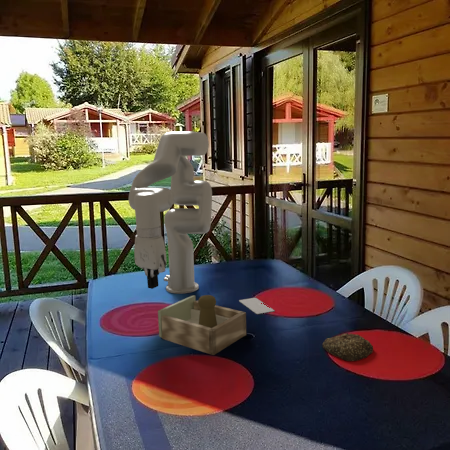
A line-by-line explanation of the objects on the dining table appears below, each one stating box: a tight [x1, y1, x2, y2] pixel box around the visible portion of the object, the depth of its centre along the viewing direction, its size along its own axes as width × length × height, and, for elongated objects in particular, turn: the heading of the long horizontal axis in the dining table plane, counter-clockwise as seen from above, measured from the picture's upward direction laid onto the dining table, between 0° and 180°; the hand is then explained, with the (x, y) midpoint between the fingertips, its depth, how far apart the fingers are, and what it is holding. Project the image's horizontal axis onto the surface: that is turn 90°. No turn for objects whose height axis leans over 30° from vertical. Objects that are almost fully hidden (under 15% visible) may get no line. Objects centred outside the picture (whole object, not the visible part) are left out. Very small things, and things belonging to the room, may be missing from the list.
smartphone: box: [238, 297, 276, 315], centre depth 165 cm, size 7×1×15 cm
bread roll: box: [322, 332, 374, 362], centre depth 130 cm, size 13×12×5 cm
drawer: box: [157, 295, 229, 338], centre depth 141 cm, size 18×16×8 cm
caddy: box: [161, 300, 247, 356], centre depth 140 cm, size 19×16×7 cm
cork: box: [197, 294, 217, 328], centre depth 139 cm, size 6×6×11 cm
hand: (153, 287), depth 152 cm, fingers closed
